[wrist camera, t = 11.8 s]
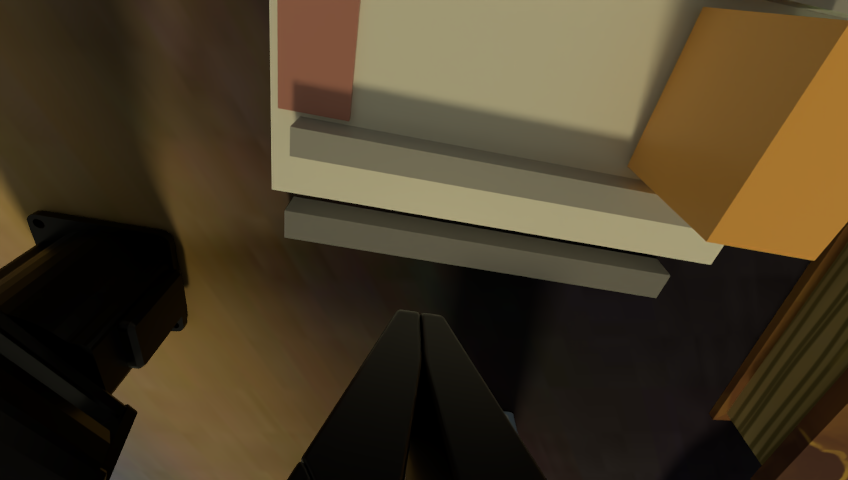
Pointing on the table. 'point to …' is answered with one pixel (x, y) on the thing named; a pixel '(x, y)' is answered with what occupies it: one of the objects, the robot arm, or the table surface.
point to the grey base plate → (472, 247)
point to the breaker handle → (754, 132)
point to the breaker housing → (488, 110)
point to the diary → (799, 379)
